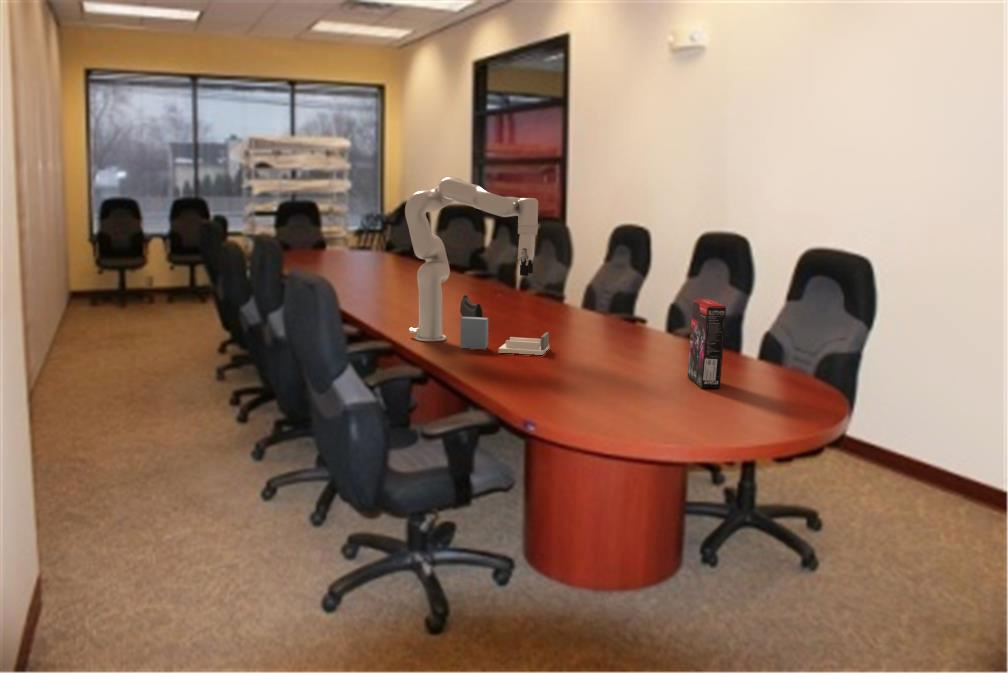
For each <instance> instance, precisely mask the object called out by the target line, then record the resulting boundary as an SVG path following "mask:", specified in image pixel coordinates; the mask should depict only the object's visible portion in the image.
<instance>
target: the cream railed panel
mask: <svg viewBox="0 0 1008 673" xmlns="http://www.w3.org/2000/svg"><path fill="white" fill-rule="evenodd" d="M549 336H550V333H549V332H544V334H542V335H541V337H540V338H533V337H532V338H531V337H515V336H510V337H509V339H507V340H505V343H504V344H502V345H501V346H500V347H498V354H499V353H519V354H535V355H543V354H544V353H545V352H546V351H547V350H548V349H549V350H550V344H549V342H550V341H549V339H550V337H549ZM549 350H548V351H549ZM548 351H547V352H548ZM547 352H546V353H547ZM546 353H545V354H546ZM545 354H544V355H545ZM544 355H543V356H544Z"/></svg>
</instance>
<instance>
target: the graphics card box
mask: <svg viewBox="0 0 1008 673" xmlns="http://www.w3.org/2000/svg"><path fill="white" fill-rule="evenodd" d="M691 310H692V312H691V326H690V336H689V337H690V340H689V352H688V353H689V354H688V365H687V366H688V367H687V368H688V369H687V378H688V379H690V380H691V381H692V382H693V383H694V384H696V385H697V386H699V387H700V388H701V389H720V388H721V379H722V364H723V354H724V353H723V352H724V341H725V340H724V339H725V338H724V337H725V328H726V327H725V326H726V313H727V305H723V304H721V303H719V302H717V301H715V300H712V299H711V298H697V299H693V300H692V309H691Z"/></svg>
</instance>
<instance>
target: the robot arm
mask: <svg viewBox="0 0 1008 673" xmlns="http://www.w3.org/2000/svg"><path fill="white" fill-rule="evenodd" d="M456 202H457V203H459V204H463V205H465V206H469V207H473V208H474V209H478V210H480V211H482V212H485V213H489V214H492V215H495V216H498V217H502V218H509V217H515V216H517V217H518V219H517V223H518V224H517V234H518V235H519V238H518V249H517V250H518V252H517V259H518V260H519V262H520V263H519V264H520V265H519V276H521V277H522V276H523V277H528V276H529V274H533V273H534V257H535V235H538V223H539V222H538V220H539V219H538V218H539V200H538V199H537V198H533V197H515V196H502V195H498V194H495V193H492V192H489V191H487V190H485V189H484V188H483V187H482V186H480V185H478V184H473V183H471V182H466V181H464V180H463V179H461V178H460V177H455V176H450V177H444V178H442V180H440V182H439V184H438V186H437V187H435V188H433V189H431V190H420V191H416V192H414V193H413V194H412V195H411V196H410V197H409V198H408V200H407V202H406V204H405V208H404V214H405V219H406V223H407V227H408V230H409V236H410V240H411V244H412V248H413V252H414V254H415V256H416V257H417V258H418V259H421V260H425V263H422V264H421V265H420V266H419V267H418V270H417V272H416V280H417V281H416V282H417V288H418V327H416V328H413V327H410V328H409V333H410V334H416V335H415V336H414V339H415V340H416V341H419V342H441V341H442V342H443V341H445V340H446V339H447V336H446V335H445V334H443V290H442V283H444V282H446V281H447V280H448V279H449V277H450V273H451V271H450V263H449V260H448V256H447V251H446V248H445V244H444V241H443V240H442V239H441V238H440V237H439V236H438V235H436V234H433V233H432V231H431V227H430V222H429V220H428V218H427V213H430V212H431V213H432V212H433V213H434V212H437V211H439V210H441V209H443V208H445V207H447V206H448V205H450V204H452V203H456Z"/></svg>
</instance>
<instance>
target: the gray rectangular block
mask: <svg viewBox="0 0 1008 673" xmlns="http://www.w3.org/2000/svg"><path fill="white" fill-rule="evenodd" d="M487 347H488V348H489V317H483V318H480V317H463V316H462V317H460V348H470V349H469V350H475V349H486V348H487ZM486 350H487V349H486Z"/></svg>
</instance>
